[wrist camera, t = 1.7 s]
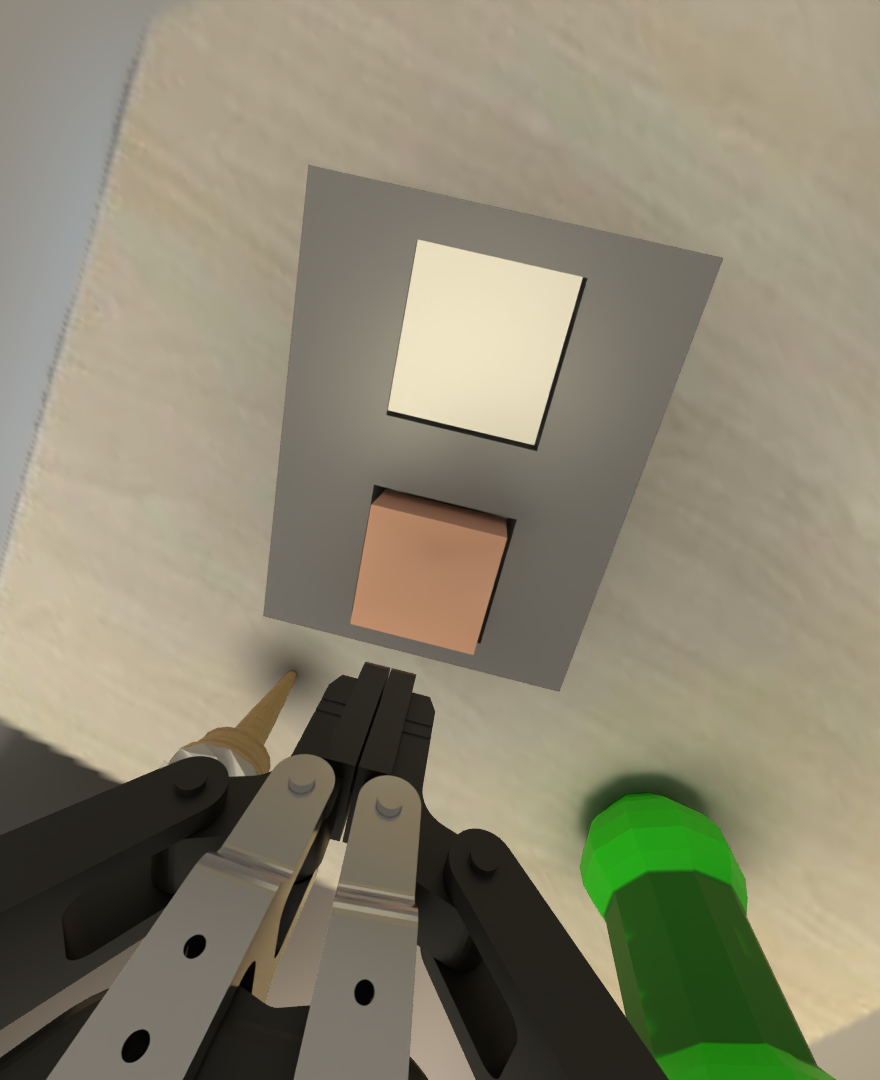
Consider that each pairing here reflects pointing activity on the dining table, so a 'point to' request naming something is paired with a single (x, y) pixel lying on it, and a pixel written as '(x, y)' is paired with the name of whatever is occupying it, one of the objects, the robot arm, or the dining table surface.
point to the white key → (481, 341)
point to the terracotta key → (428, 570)
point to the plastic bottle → (689, 946)
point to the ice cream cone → (243, 736)
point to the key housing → (461, 454)
